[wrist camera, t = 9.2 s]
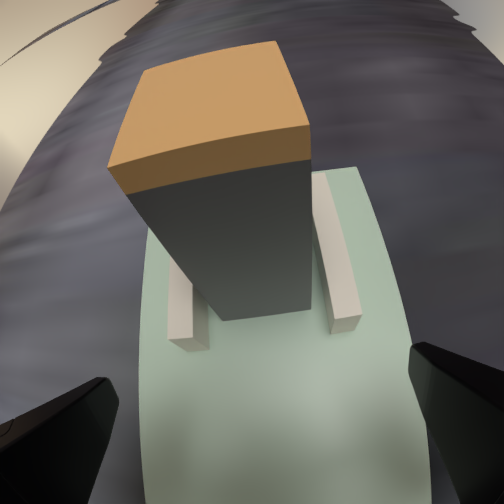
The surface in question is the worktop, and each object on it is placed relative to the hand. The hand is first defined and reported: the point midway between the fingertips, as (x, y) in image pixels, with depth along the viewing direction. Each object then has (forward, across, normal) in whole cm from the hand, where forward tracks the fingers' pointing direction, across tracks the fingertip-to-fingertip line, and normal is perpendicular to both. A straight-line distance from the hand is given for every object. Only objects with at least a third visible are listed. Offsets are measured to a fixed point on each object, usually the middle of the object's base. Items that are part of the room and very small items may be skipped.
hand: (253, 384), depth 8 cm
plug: (+9, 0, 0) cm, 9 cm away
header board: (+7, 0, +4) cm, 8 cm away
